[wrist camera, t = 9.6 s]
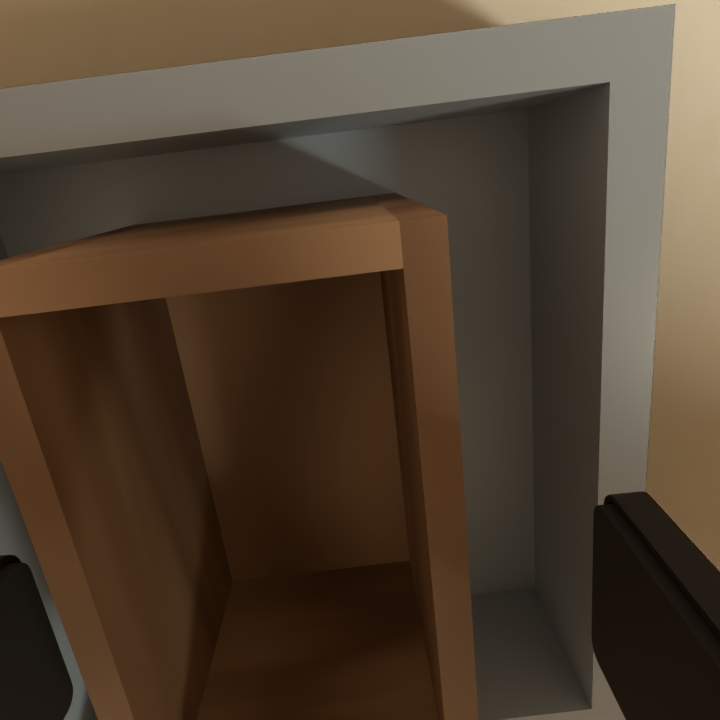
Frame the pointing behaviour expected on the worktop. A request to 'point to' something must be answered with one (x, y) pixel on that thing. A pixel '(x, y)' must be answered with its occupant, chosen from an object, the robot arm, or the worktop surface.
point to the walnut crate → (247, 462)
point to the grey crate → (467, 266)
